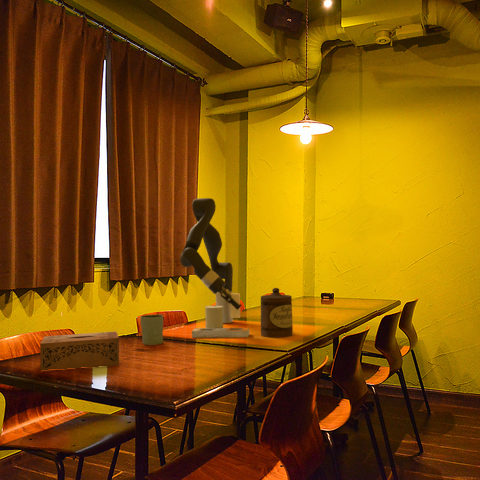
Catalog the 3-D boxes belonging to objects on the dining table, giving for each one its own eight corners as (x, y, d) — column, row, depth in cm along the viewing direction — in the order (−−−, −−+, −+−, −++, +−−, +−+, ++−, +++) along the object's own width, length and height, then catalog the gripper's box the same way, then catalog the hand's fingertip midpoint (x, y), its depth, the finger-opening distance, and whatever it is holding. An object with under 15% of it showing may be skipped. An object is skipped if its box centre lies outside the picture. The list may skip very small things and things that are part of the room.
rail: (195, 334, 229) (195, 327, 229) (249, 334, 227) (249, 327, 227) (191, 337, 221) (191, 330, 221) (247, 337, 219) (247, 330, 219)
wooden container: (276, 339, 214) (275, 289, 214) (254, 334, 225) (253, 288, 226) (299, 334, 223) (298, 287, 224) (277, 331, 235) (276, 286, 235)
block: (231, 316, 225) (231, 293, 226) (240, 316, 225) (239, 293, 225) (230, 317, 221) (230, 294, 222) (239, 317, 221) (238, 294, 221)
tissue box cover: (116, 357, 183) (116, 331, 183) (119, 366, 169) (118, 337, 170) (44, 363, 175) (44, 336, 176) (40, 373, 162) (40, 343, 162)
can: (224, 327, 247) (224, 304, 248) (222, 330, 238) (221, 306, 239) (207, 328, 248) (206, 304, 249) (203, 331, 239) (203, 306, 239)
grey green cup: (158, 345, 204) (158, 317, 204) (136, 345, 206) (136, 317, 206) (167, 341, 214) (166, 314, 214) (145, 340, 216) (145, 314, 216)
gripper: (216, 276, 217) (243, 303, 216) (220, 275, 232) (246, 300, 230) (205, 288, 218) (232, 315, 216) (210, 286, 232) (235, 311, 230)
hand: (239, 307), depth 223 cm, fingers closed on block, 4 cm apart
